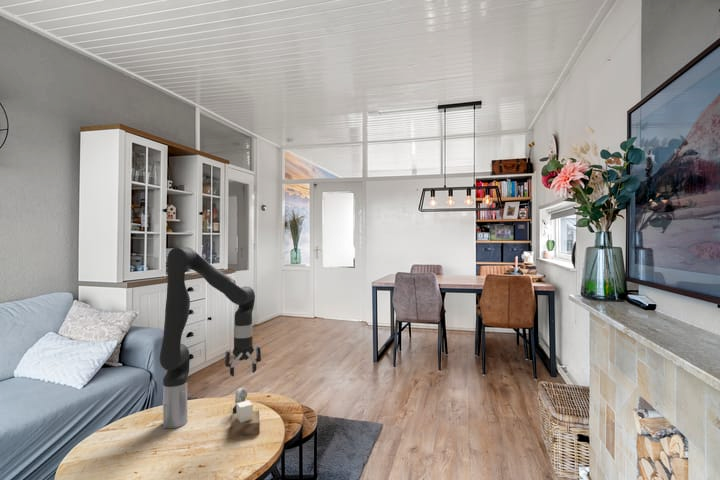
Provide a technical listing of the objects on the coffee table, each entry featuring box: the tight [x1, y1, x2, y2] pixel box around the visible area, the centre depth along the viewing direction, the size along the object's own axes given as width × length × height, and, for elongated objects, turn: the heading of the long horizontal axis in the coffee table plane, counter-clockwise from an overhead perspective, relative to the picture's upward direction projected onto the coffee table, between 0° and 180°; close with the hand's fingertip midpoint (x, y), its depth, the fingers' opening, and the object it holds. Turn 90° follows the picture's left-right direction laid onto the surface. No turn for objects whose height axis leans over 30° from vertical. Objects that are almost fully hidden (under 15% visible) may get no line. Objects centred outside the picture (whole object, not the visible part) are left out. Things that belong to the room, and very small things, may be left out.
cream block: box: [235, 399, 254, 423], centre depth 153 cm, size 5×5×6 cm
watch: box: [232, 387, 249, 414], centre depth 168 cm, size 6×8×11 cm
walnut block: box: [230, 410, 261, 439], centre depth 154 cm, size 11×11×5 cm
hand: (243, 374), depth 155 cm, fingers open, 8 cm apart
